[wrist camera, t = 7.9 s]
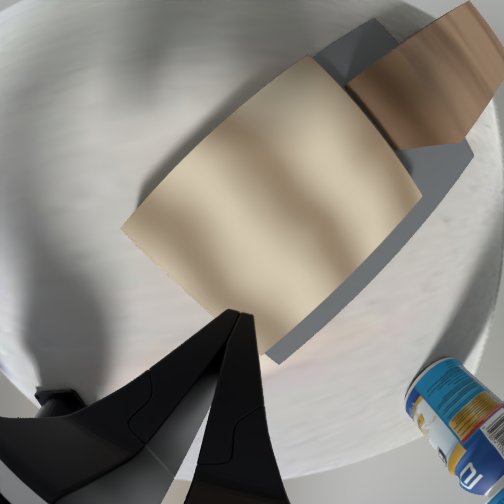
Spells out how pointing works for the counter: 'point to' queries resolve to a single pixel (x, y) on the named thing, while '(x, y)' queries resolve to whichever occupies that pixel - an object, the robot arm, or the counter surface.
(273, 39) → the counter surface
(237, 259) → the birch board
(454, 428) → the beverage bottle
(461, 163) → the rubber mat
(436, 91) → the walnut block
